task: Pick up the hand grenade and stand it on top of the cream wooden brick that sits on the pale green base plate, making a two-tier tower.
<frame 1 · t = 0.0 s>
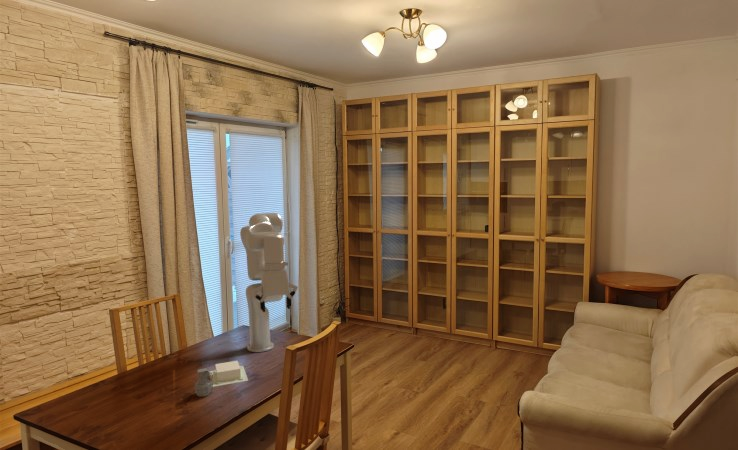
hand: (276, 309, 185), 31 cm above the table, tool pointing down, fingers open, 9 cm apart
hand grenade: (204, 398, 180), on the table
cream brick: (228, 375, 195), point 1 cm above the table, touching base plate
base plate: (228, 379, 195), on the table
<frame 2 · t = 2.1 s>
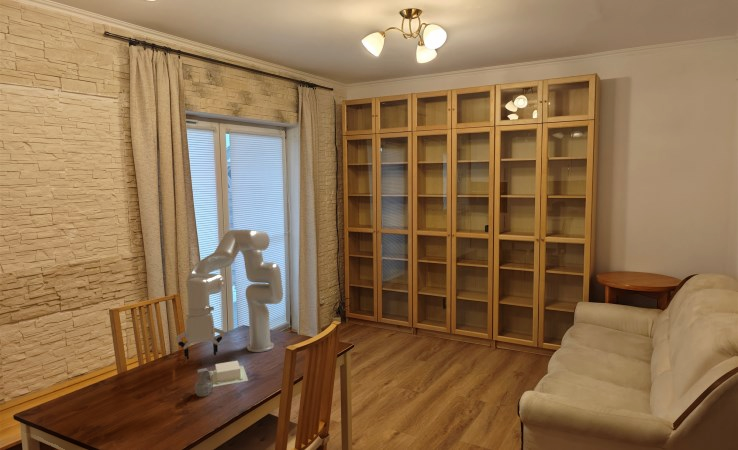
hand: (201, 356, 177), 17 cm above the table, tool pointing down, fingers open, 9 cm apart
nothing on the table moved.
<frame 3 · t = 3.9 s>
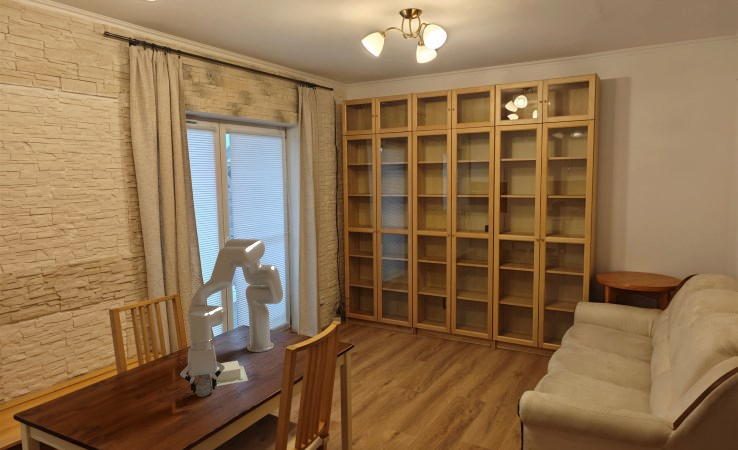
hand: (203, 389, 179), 3 cm above the table, tool pointing down, fingers closed on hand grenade, 6 cm apart
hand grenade: (204, 398, 180), on the table, touching gripper
everything else where it was.
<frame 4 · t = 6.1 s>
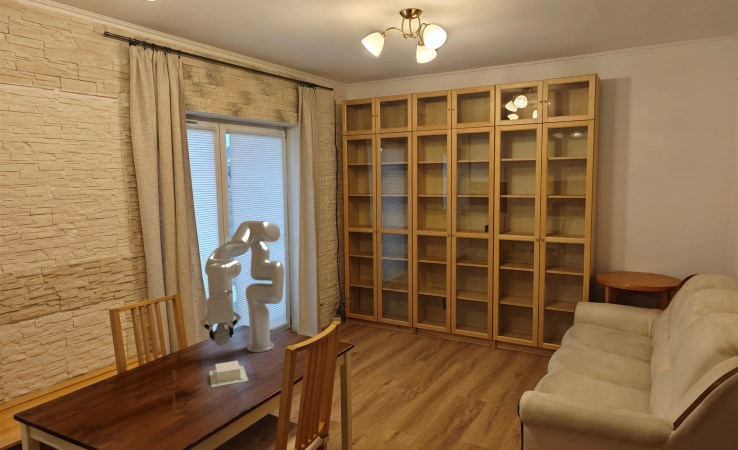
hand: (221, 337, 190), 19 cm above the table, tool pointing down, fingers closed on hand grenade, 6 cm apart
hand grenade: (222, 345, 191), point 15 cm above the table, touching gripper
everything else where it was.
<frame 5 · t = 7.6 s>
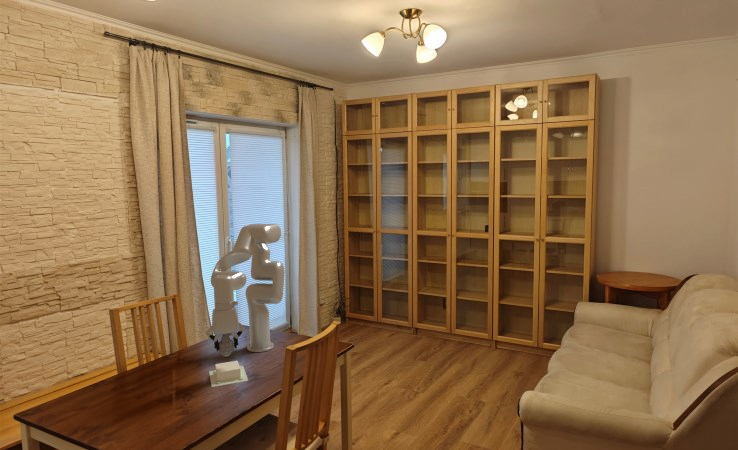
hand: (226, 348, 194), 13 cm above the table, tool pointing down, fingers closed on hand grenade, 6 cm apart
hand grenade: (227, 356, 194), point 10 cm above the table, touching gripper
everything else where it was.
when the fingers open (9 cm above the table, at t = 8.8 s): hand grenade stays where it is, resting on cream brick.
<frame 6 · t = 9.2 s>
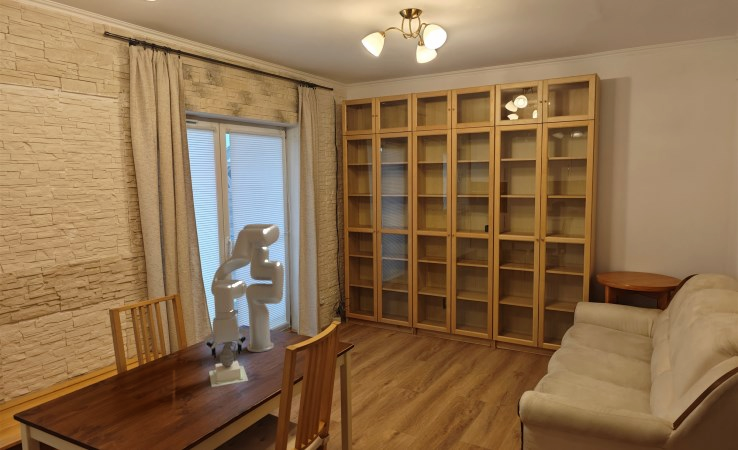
hand: (227, 355, 194), 10 cm above the table, tool pointing down, fingers open, 9 cm apart
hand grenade: (228, 366, 195), point 5 cm above the table, touching cream brick
cream brick: (228, 375, 195), point 1 cm above the table, touching base plate, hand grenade
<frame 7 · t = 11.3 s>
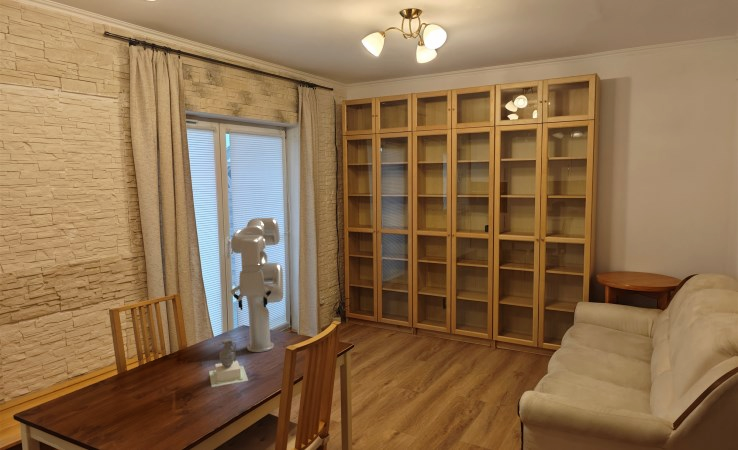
hand: (253, 307, 200), 28 cm above the table, tool pointing down, fingers open, 9 cm apart
nothing on the table moved.
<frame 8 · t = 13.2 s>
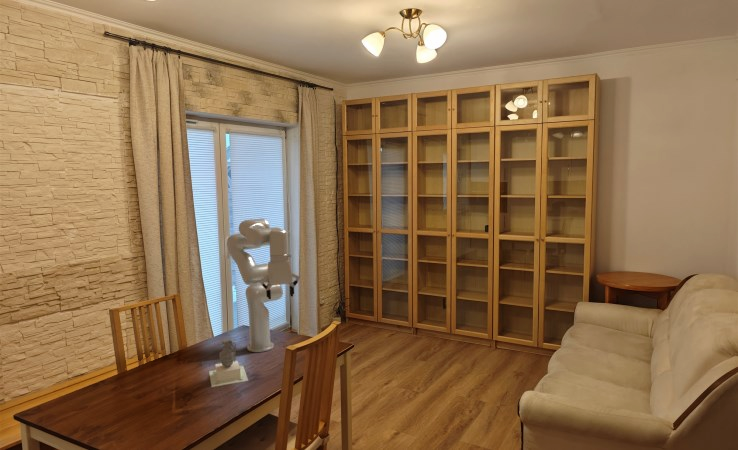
hand: (280, 297, 206), 30 cm above the table, tool pointing down, fingers open, 9 cm apart
nothing on the table moved.
at the end: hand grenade inside the target area on the cream brick (0.3 cm from its centre), point 3.8 cm above the cream brick's base; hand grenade tilted 0°; the gripper is holding nothing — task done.
